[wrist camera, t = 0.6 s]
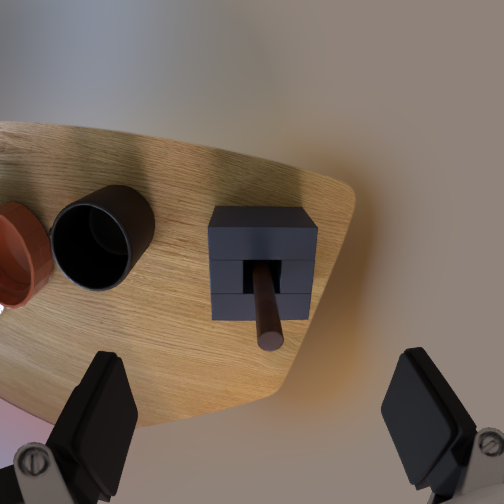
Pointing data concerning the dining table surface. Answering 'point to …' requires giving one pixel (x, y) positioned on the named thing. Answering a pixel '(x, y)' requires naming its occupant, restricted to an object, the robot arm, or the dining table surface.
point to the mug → (102, 236)
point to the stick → (266, 307)
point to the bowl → (22, 255)
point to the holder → (260, 248)
